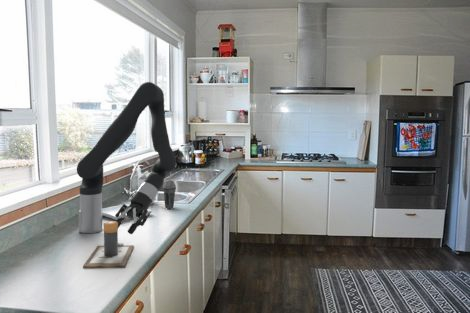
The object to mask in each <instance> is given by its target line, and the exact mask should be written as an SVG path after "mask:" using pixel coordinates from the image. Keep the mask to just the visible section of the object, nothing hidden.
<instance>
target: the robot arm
mask: <svg viewBox="0 0 470 313" xmlns="http://www.w3.org/2000/svg"><path fill="white" fill-rule="evenodd" d="M147 107H148V109H149V112H150V117H151V125H150V134H151V135H150V136H151V141H152V147H153V150H154V151H155V152H156V153H158V154H157V155H158V157H159V158H158V159H157V160H156V161H155V162H154V164H153V166H152V168H151V169H150V172H149V175H148V177H147V178H146V180H145V181H144V183H143V184H142V185H141V186H140V187H139V189H138V188H137V191H136V192H135V193H134V195H133V196H132V198H131V199H130V203H129V204H130V205H129V206H126V205H125V203H123V204H122V205H123V206H122V207H121V208H120V210H119V211H118V212H117V214H116V215H115V216H116V217H117V220H115V221H116V222H118V229H119V228H120V226H121V225H123V224H122V223H123V222H124V220H125V221H127V220H126V219H129V218H133V219H132V220H133V223H131V225H130V226H129V228H128V229H127V233H128V234H130V235H133V234H134V233H135V232H136V230H137V228H138V227H140V226H142V227H143V226H144V225H145V223H146V222H147V220H148V219H149V216H150V215H151V213H149V211H148V210H147V209H150V206H151V205H152V204H153V203H152V202H153V200H154V201H155V199H156V197H157V195H158V192H159V191H160V189H161V188H162V187H163V185H164V183H165V182H164V181H165V180H164V179H165V178H166V176H167V175H168V173H172V171H174V170H175V168H176V166H177V160H176V159H177V158H176V156H175V154H174V150H173V149H172V146H171V143H170V139H169V134H168V129H167V122H166V115H165V94H164V91H163V90H162V88H161V86H158V85H156V84H155V83H154V82H151V81H145V82H143V83H142V84H141V85H140V86H139V87H138V88H137V89H136V91H135V92H134V94H133V96H132V97H131V98H130V100H129V101H128V103H127V104H126V106H125V107H124V108H123V109H122V111H121V112H120V113H119V115H117V117H116V118H115V119H114V120H113V121H112V123H111V124H110V125H109V126H108V127H107V129H106V130H105V132H104V133H103V134H102V136H101V137H100V138H99V140H98V141H97V142H96V144H95V146H93V148H92V149H91V150H90V151H89V152H88V153H87V154H86V155H85V156H84V157H82V159H81V160H79V162H78V163H77V166H76V173H77V175H78V176H79V177H80V178H81V184H80V187H79V211H78V233H83V234H95V233H100V232H101V231H103V215H102V209H103V186H104V163H105V162H106V161H107V159H108V158H109V157H110V156H111V155H112V154H113V153H115V152H116V151H117V150H118V149H119V148H121V146H123V144H125V143H126V141H127V140H128V139H129V138H130V137H131V135H132V134H133V132H134V131H135V128H136V126H137V123H138V119H139V118H140V115H141V114H142V113H143V111H144V110H146V108H147ZM151 203H152V204H151ZM120 213H121V215H120V216H119V214H120ZM126 213H127V215H126ZM122 217H123V218H122ZM129 220H130V219H129Z"/></svg>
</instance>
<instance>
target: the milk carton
mask: <svg viewBox="0 0 470 313" xmlns="http://www.w3.org/2000/svg"><path fill="white" fill-rule="evenodd" d="M149 174H150V172H149V170H146V171H144V172H142V173H141V174H140V175H139V176H140V177H139V178H138V179H137V190H138V189H139V187H140V186H141V185H142V184H143V183H144V181H145V180H146V178H147V177H148V175H149ZM154 202H155V199H154V200H153V202H152V203H151V205H152V204H154Z"/></svg>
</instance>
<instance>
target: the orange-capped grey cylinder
mask: <svg viewBox="0 0 470 313" xmlns="http://www.w3.org/2000/svg"><path fill="white" fill-rule="evenodd" d="M118 232H119V228H118V222H116V220H113V221H112V220H110V221H105V222H103V246H104V256H106V257H114V256H116V255H118V242H119V241H118V238H119V236H118V234H119V233H118Z"/></svg>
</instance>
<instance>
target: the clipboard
mask: <svg viewBox="0 0 470 313" xmlns="http://www.w3.org/2000/svg"><path fill="white" fill-rule="evenodd" d="M134 248H135V246H134V245H133V244H132V245H131V244H130V245H128V244H127V245H124V243H123V242H119V243H118V255H116V256H114V257H106V256H104V245H97V246H96V247H95V249H94V250H93V252H92V253H91V254H90V256H89V257H88V259H87V260H86V261H85V263H84V264H83V266H82V268H83V269H110V268H111V269H113V268H114V269H118V268H121V269H122V268H123V269H125V268H126V265H127V263H128V261H129V259H130V257H131V254H132V252H133V250H134Z"/></svg>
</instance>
